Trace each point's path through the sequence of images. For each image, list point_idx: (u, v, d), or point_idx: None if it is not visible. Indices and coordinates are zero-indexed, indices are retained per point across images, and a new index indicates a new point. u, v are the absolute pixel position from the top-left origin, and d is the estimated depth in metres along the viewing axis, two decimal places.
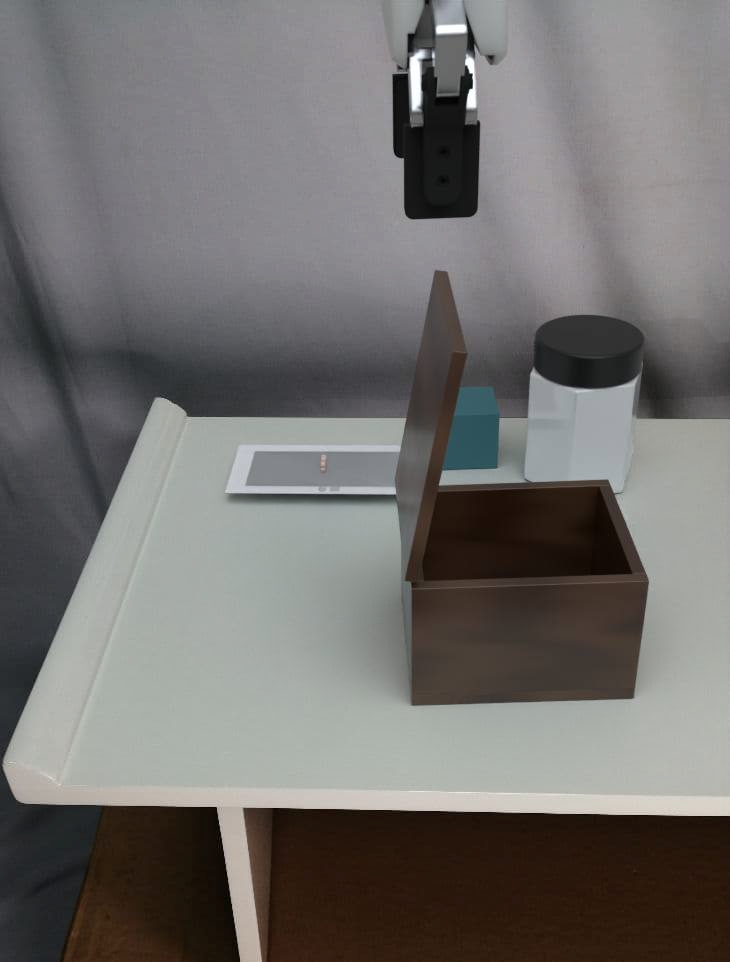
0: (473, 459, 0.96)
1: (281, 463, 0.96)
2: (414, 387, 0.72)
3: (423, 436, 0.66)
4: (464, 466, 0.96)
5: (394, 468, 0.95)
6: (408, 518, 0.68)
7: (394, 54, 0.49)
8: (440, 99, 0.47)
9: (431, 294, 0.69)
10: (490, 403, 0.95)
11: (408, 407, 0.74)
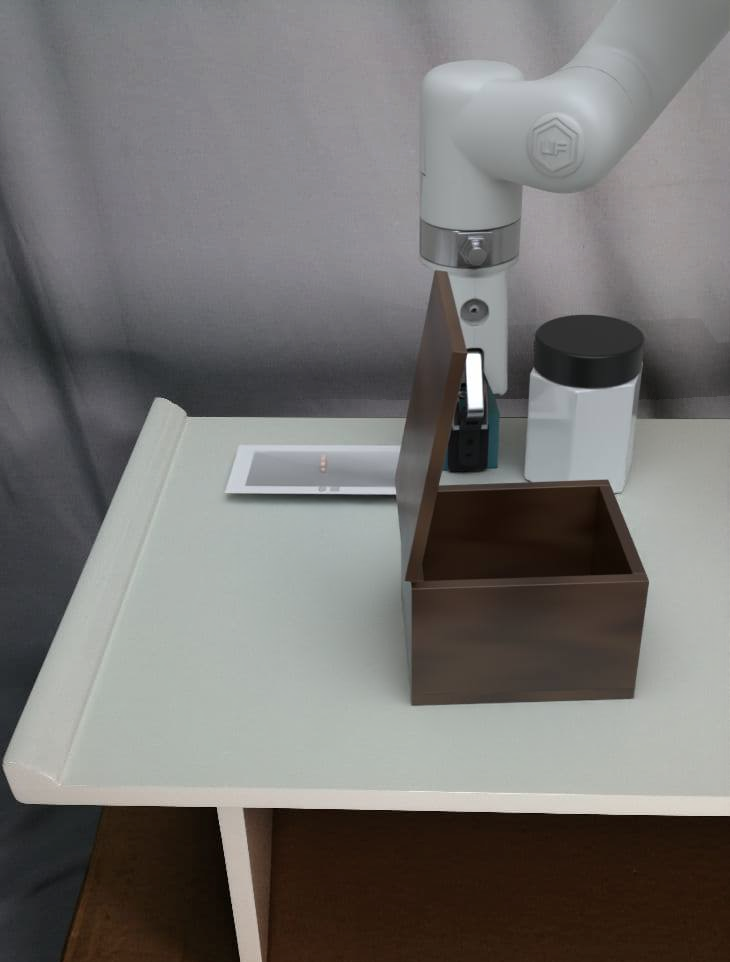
0: None
1: (281, 463, 0.96)
2: (414, 387, 0.72)
3: (423, 436, 0.66)
4: None
5: (394, 468, 0.95)
6: (408, 518, 0.68)
7: None
8: None
9: (431, 294, 0.69)
10: (490, 403, 0.95)
11: (408, 407, 0.74)
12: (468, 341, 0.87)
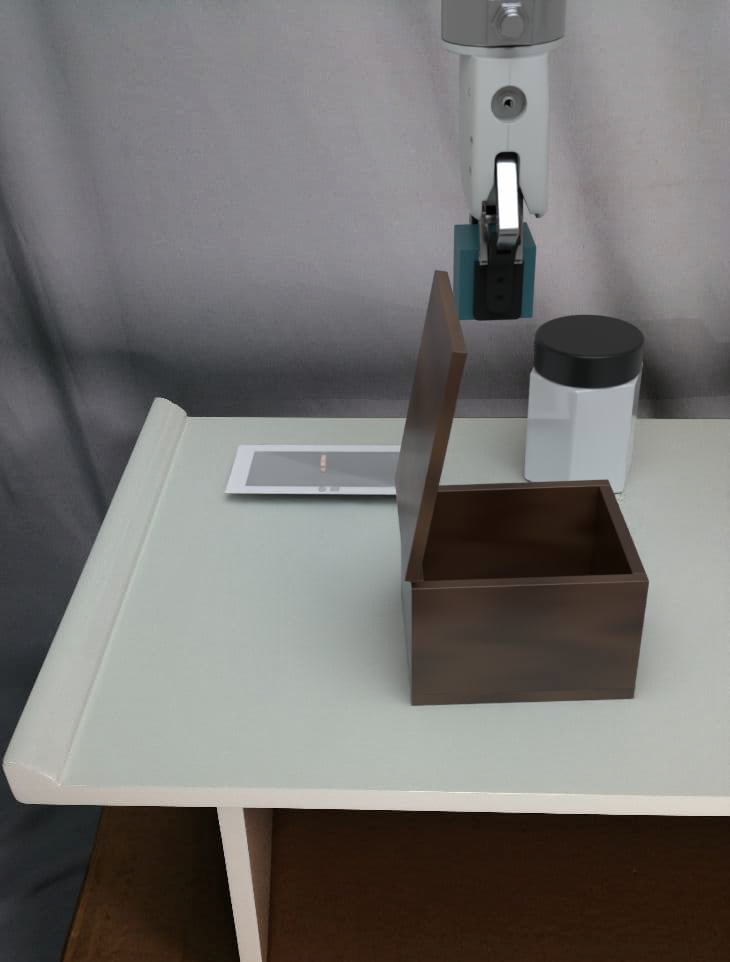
0: None
1: (281, 463, 0.96)
2: (414, 387, 0.72)
3: (423, 436, 0.66)
4: None
5: (394, 468, 0.95)
6: (408, 518, 0.68)
7: (472, 212, 0.74)
8: None
9: (431, 294, 0.69)
10: (525, 237, 0.78)
11: (408, 407, 0.74)
12: (500, 143, 0.71)
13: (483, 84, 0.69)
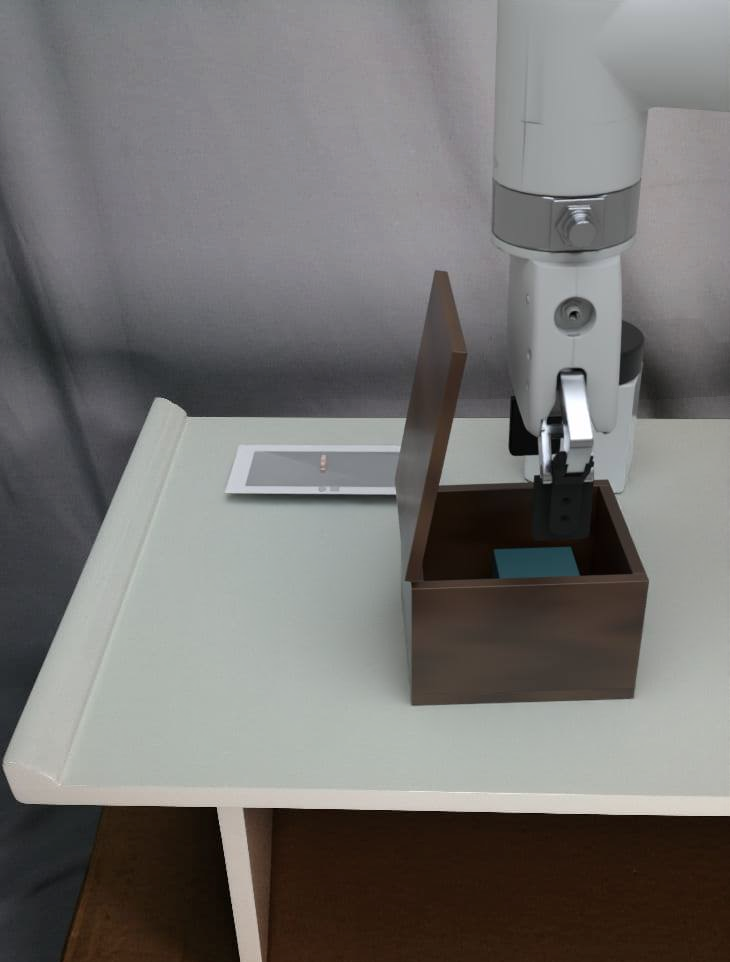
0: None
1: (281, 463, 0.96)
2: (414, 387, 0.72)
3: (423, 436, 0.66)
4: None
5: (394, 468, 0.95)
6: (408, 518, 0.68)
7: (529, 429, 0.63)
8: None
9: (431, 294, 0.69)
10: (571, 574, 0.73)
11: (408, 407, 0.74)
12: (564, 358, 0.60)
13: (545, 294, 0.59)
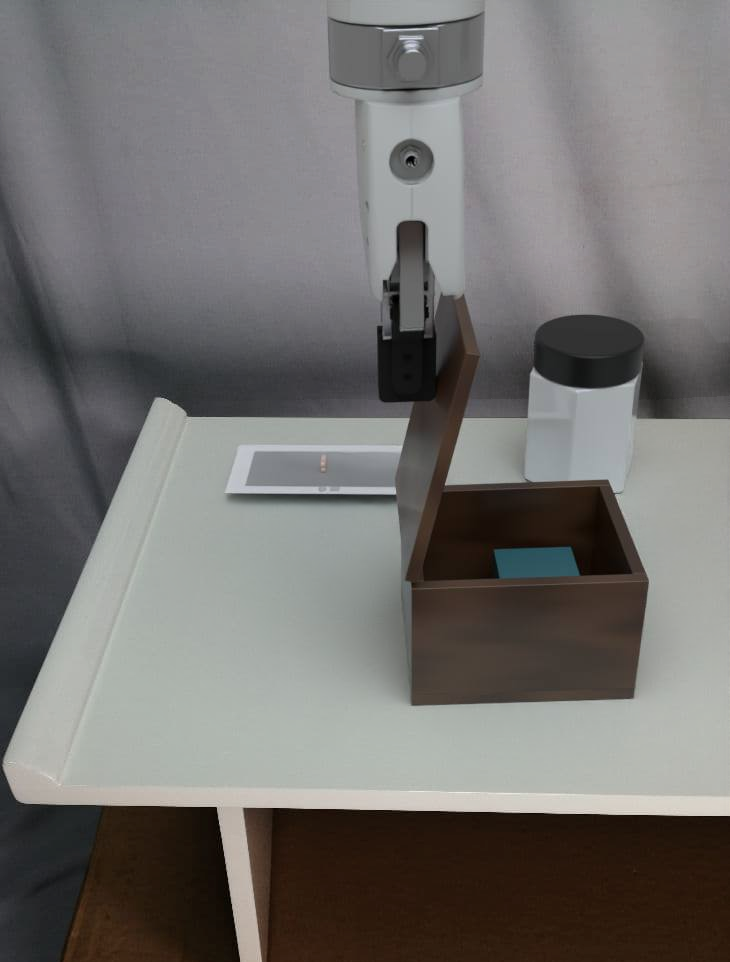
0: None
1: (281, 463, 0.96)
2: None
3: (429, 437, 0.66)
4: None
5: (394, 468, 0.95)
6: (410, 518, 0.68)
7: (372, 293, 0.59)
8: None
9: (441, 295, 0.69)
10: (571, 574, 0.73)
11: (412, 407, 0.74)
12: (403, 209, 0.56)
13: (379, 137, 0.55)
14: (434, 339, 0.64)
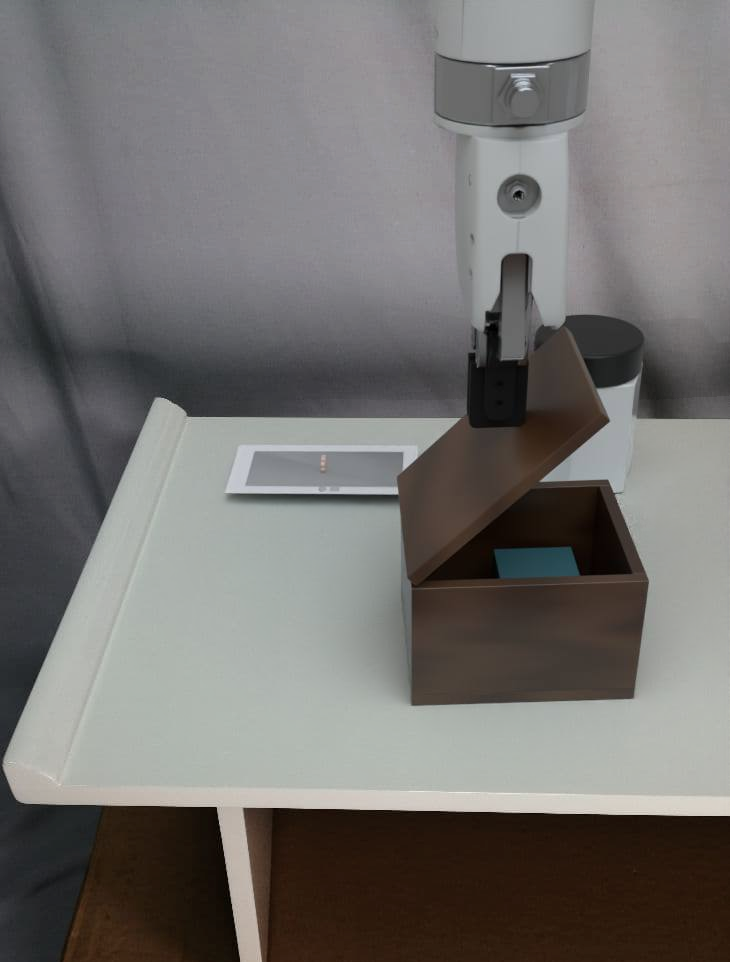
0: None
1: (281, 463, 0.96)
2: None
3: (496, 463, 0.67)
4: None
5: (394, 468, 0.95)
6: (432, 524, 0.68)
7: (473, 323, 0.60)
8: None
9: (549, 343, 0.71)
10: (571, 574, 0.73)
11: None
12: (509, 242, 0.57)
13: (487, 172, 0.56)
14: (526, 366, 0.65)
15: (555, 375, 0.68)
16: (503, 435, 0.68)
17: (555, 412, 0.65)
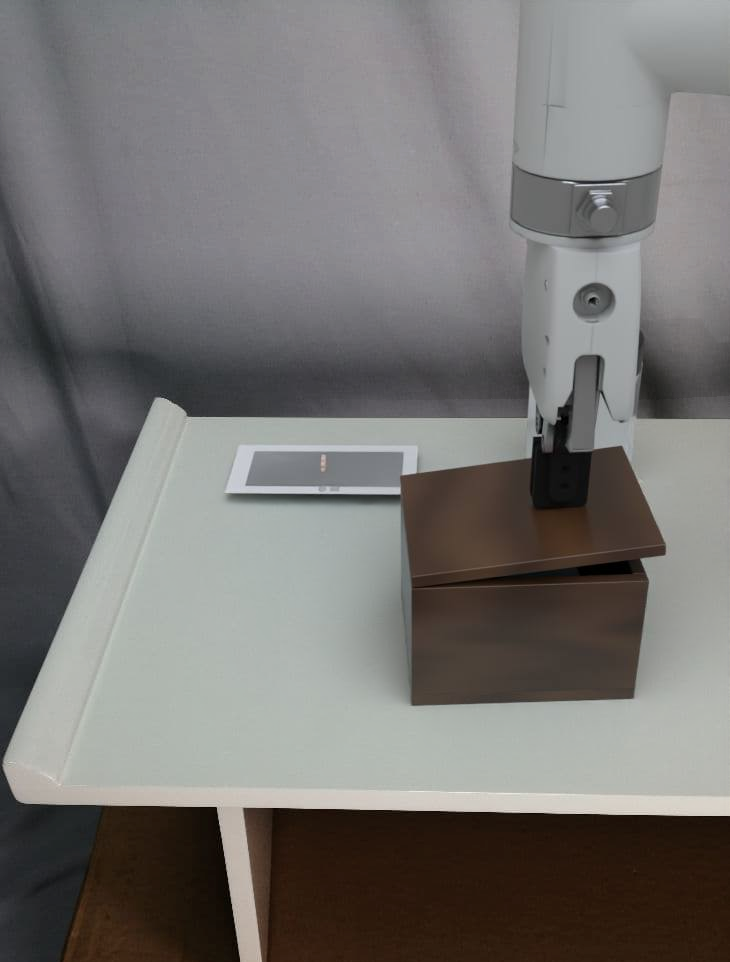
0: None
1: (281, 463, 0.96)
2: (512, 467, 0.75)
3: (534, 526, 0.69)
4: None
5: (394, 468, 0.95)
6: (448, 542, 0.69)
7: (545, 417, 0.63)
8: None
9: (604, 452, 0.75)
10: (571, 574, 0.73)
11: (482, 465, 0.76)
12: (582, 345, 0.60)
13: (564, 280, 0.59)
14: (590, 451, 0.68)
15: (611, 484, 0.72)
16: None
17: (610, 517, 0.69)
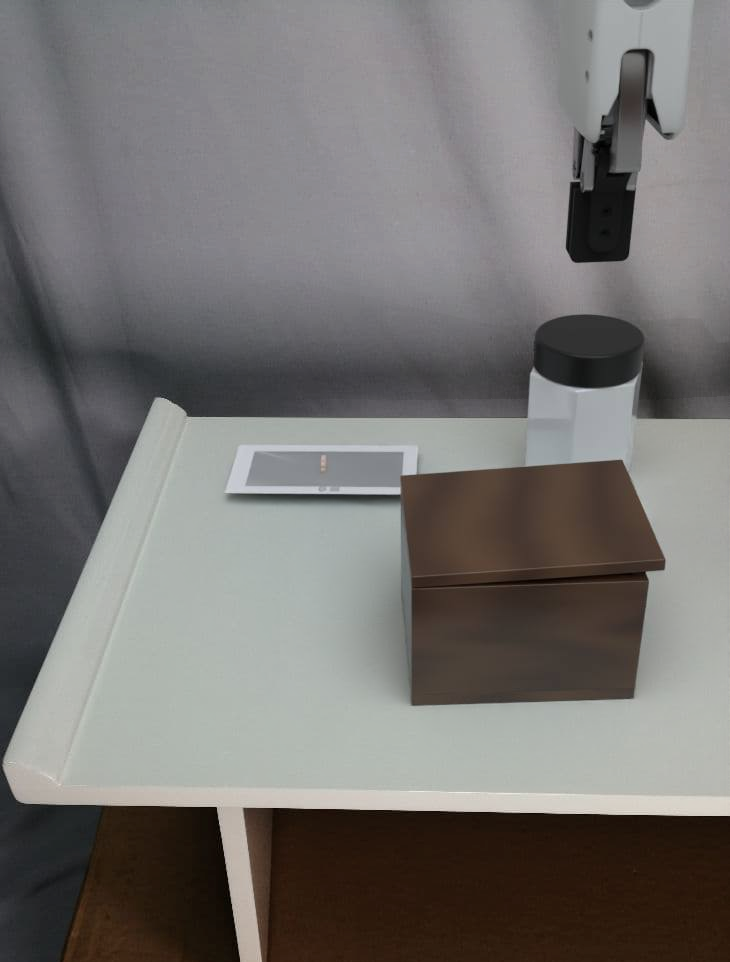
0: None
1: (281, 463, 0.96)
2: (512, 474, 0.75)
3: (535, 533, 0.69)
4: None
5: (394, 468, 0.95)
6: (449, 545, 0.69)
7: (587, 131, 0.57)
8: None
9: (604, 465, 0.75)
10: None
11: (482, 470, 0.76)
12: (630, 37, 0.54)
13: None
14: (633, 193, 0.62)
15: (611, 497, 0.72)
16: (544, 514, 0.71)
17: (610, 529, 0.69)
